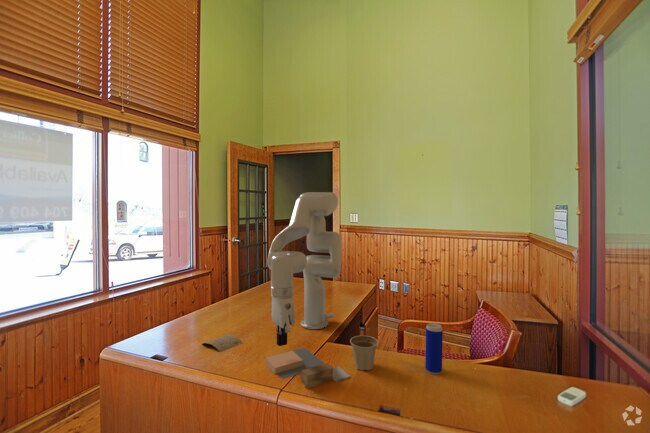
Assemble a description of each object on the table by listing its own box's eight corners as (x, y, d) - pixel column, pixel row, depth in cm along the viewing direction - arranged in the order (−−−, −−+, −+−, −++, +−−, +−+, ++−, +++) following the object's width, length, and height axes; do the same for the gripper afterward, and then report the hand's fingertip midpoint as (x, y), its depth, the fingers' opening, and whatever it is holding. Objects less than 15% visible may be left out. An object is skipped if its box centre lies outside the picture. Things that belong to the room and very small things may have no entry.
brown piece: (338, 368, 104) (338, 356, 104) (349, 377, 99) (350, 365, 99) (299, 380, 97) (299, 368, 97) (309, 391, 91) (309, 378, 91)
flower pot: (346, 370, 103) (346, 344, 103) (353, 357, 112) (354, 333, 111) (374, 376, 100) (375, 349, 99) (380, 362, 108) (380, 337, 108)
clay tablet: (244, 346, 121) (244, 339, 121) (222, 356, 113) (222, 349, 113) (221, 337, 130) (221, 330, 130) (199, 345, 122) (199, 339, 122)
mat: (304, 348, 119) (304, 347, 119) (326, 366, 105) (326, 365, 105) (264, 358, 110) (264, 357, 110) (282, 380, 97) (282, 379, 97)
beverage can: (441, 368, 105) (442, 323, 104) (442, 376, 100) (442, 329, 99) (425, 365, 106) (426, 321, 106) (425, 373, 101) (425, 327, 101)
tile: (292, 350, 111) (302, 360, 105) (292, 356, 112) (302, 365, 105) (265, 357, 106) (274, 367, 99) (265, 363, 106) (274, 374, 100)
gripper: (301, 295, 102) (301, 350, 102) (283, 285, 115) (283, 334, 115) (280, 298, 98) (280, 356, 98) (263, 287, 111) (263, 338, 111)
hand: (281, 344), depth 107 cm, fingers closed
